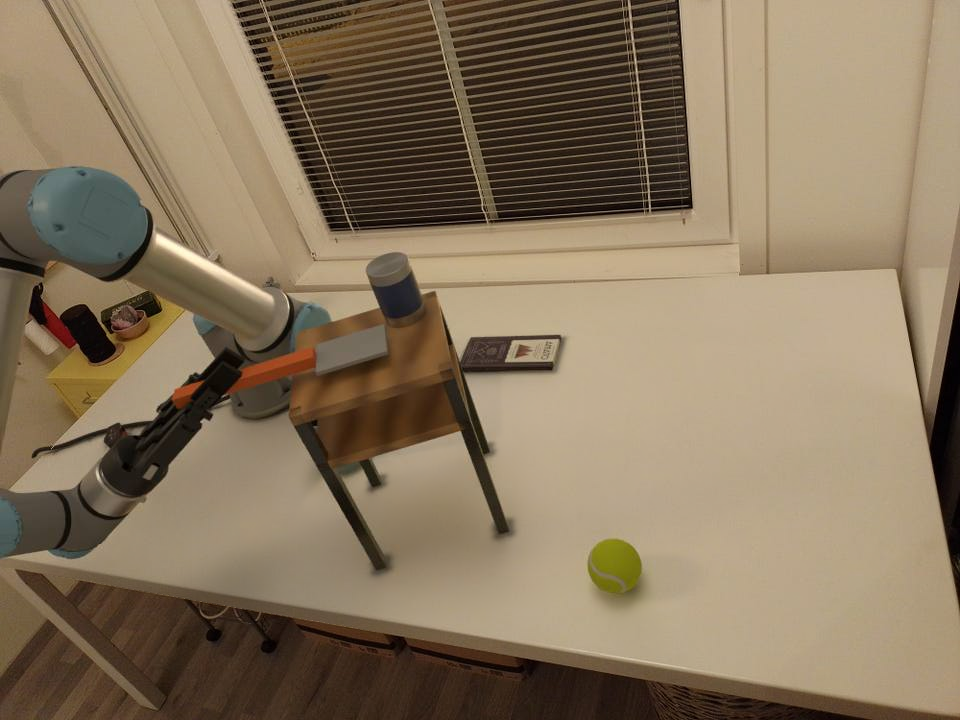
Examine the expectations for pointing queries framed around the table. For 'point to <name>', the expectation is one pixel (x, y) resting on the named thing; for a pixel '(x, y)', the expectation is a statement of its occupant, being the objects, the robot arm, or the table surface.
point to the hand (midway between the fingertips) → (233, 361)
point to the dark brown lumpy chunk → (114, 434)
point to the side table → (387, 407)
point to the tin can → (396, 289)
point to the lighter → (270, 283)
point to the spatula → (306, 361)
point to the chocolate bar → (511, 353)
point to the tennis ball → (614, 566)
